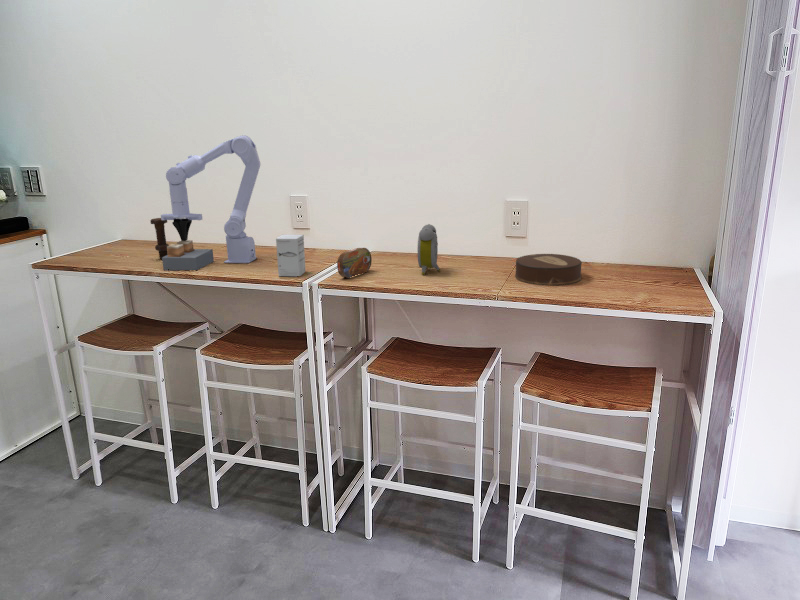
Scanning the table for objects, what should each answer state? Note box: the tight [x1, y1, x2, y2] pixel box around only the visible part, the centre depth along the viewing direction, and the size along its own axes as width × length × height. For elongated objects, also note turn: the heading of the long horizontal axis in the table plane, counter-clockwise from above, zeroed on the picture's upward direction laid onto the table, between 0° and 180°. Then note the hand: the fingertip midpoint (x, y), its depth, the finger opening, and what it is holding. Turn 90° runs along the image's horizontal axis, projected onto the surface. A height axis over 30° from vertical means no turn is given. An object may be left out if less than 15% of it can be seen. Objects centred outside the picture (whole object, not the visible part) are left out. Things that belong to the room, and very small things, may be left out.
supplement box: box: [275, 234, 306, 277], centre depth 207 cm, size 7×7×13 cm
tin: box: [336, 247, 372, 279], centre depth 204 cm, size 15×3×8 cm, turn 145°
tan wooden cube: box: [176, 239, 195, 253], centre depth 226 cm, size 4×4×4 cm
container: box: [514, 253, 583, 287], centre depth 195 cm, size 20×20×6 cm
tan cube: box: [167, 243, 185, 257], centre depth 219 cm, size 4×4×4 cm
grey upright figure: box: [417, 223, 442, 276], centre depth 204 cm, size 12×7×15 cm, turn 171°
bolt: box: [149, 217, 170, 260], centre depth 234 cm, size 6×5×15 cm
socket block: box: [161, 248, 215, 271], centre depth 223 cm, size 12×14×4 cm
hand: (184, 240), depth 225 cm, fingers closed
